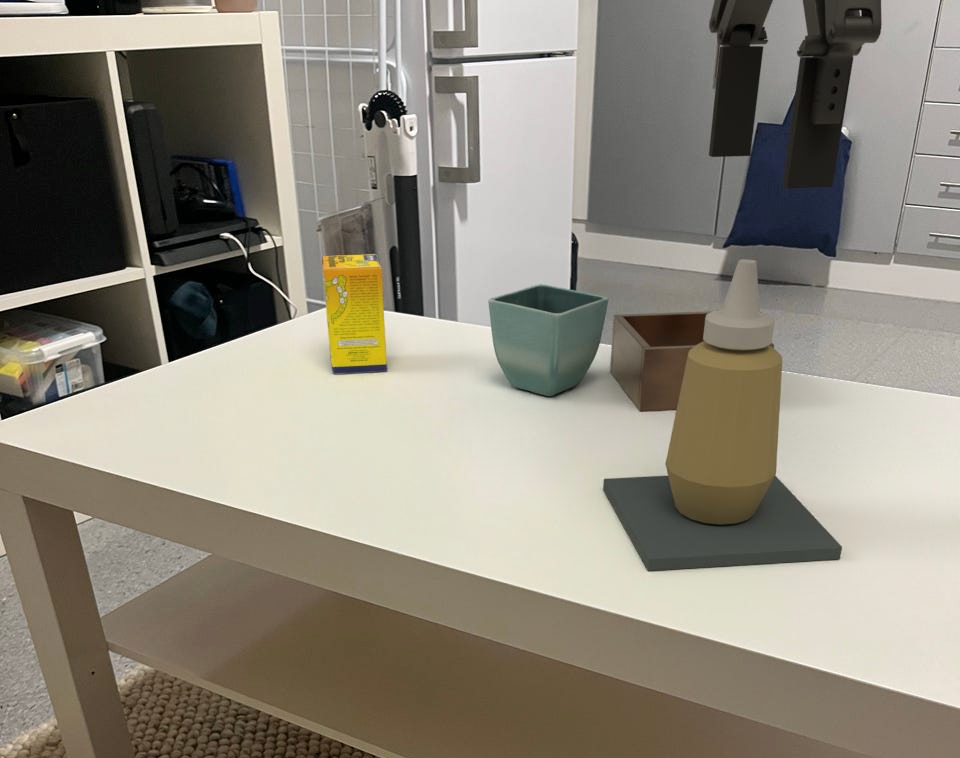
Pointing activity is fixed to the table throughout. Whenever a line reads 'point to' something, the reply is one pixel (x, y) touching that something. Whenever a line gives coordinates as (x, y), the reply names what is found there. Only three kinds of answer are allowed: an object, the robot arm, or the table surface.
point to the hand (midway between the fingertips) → (764, 170)
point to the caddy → (654, 355)
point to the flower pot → (546, 336)
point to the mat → (716, 529)
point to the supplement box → (355, 313)
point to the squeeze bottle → (728, 411)
